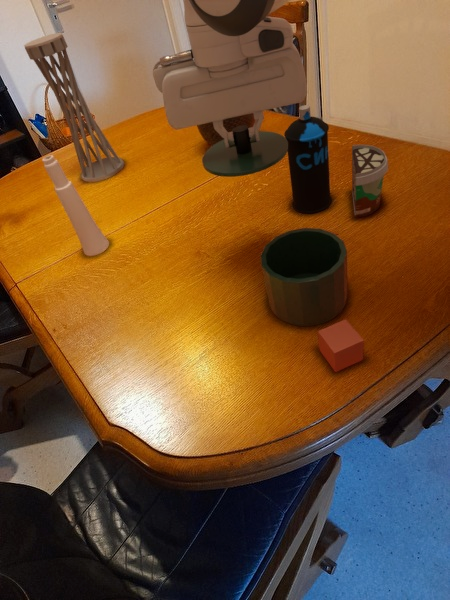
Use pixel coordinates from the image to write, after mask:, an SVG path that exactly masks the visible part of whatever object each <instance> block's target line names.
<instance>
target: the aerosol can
mask: <svg viewBox="0 0 450 600" xmlns="http://www.w3.org/2000/svg"><path fill="white" fill-rule="evenodd" d="M298 112H299V113H298V114H299V118H297V119H296V120H294V121H292V122H291V123H290V125H289V126H288V127H287V128H286V129H285V131H284V133H283V135H284V137H285V138H286V139H287V141H288V152H287V158H288V169H289V176H290V185H291V186H290V187H291V195H292V204H291V205H292V208H293V209H294V210H295V211H296V212H298V213H301V214H315V213H321V212H322V211H324V210H326V209H328V208H329V206H330V205H331V204H332V197H331V185H330V183H331V182H330V162H329V161H330V159H329V158H330V157H329V156H330V155H329V135H328V132H329V130H330V126H329V124H328V123H327V122H325V121H324V120H322V119H321V118H320V117H316V116H312V115H311V106H310V105H308V104H304V105H301V106H299V108H298Z"/></svg>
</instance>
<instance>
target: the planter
mask: <svg viewBox="0 0 450 600" xmlns="http://www.w3.org/2000/svg"><path fill="white" fill-rule="evenodd" d="M254 123H255V119H254V114H253V113H250V114H246V115H241V116H237V117H232V118H228V119H223V127H224V128H225V129H226V131H227V132H233V129H234V128H235V127H238V126H242V125H245V126H248V128H251V127H253V126H254ZM196 128H197V130H198V132H199V134H200V136H201V138H202V139H203V140H204V142H205V143H207V144H208V145H209V146H210V147H212V146H213V145H215V144H216V143H218V142H220V141H222V140H224V138H222V136H221V135H220V134H219V133H218V132H217V131H216V130H215V129H214V125H213V122H210V123H205V124H201V125H196Z"/></svg>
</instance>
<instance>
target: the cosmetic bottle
mask: <svg viewBox="0 0 450 600" xmlns="http://www.w3.org/2000/svg"><path fill="white" fill-rule="evenodd" d="M42 163H44V164H43V167H44V169H45V171H46V173H47V174H48V176H49V178H50V179H51V181H52V183H53V185H54V191H55V193H56V195H57V197H58V199H59V201H60V204H61V205H62V208H63V209H64V212H65V213H66V216H67V217H68V219H69V221H70V223H71V225H72V227H73V229H74V231H75V234H76V236H77V239H78V240H79V243H80V245H81V249H82V252H83V253H84V255H85V256H87V257H95V256H98V255H100V254H102V253H104V252H105V251H106V250H108V248H109V247H110V241H109V240H108V238H107V237H106V236H105V234H104V233H103V232H102V230H101V228H100V227H99V226H98V224H97V223H96V221H95V220H94V218H93V216H92V214H91V213H90V211H89V209H88V208H87V206H86V204H85V203H84V201H83V199H82V197H81V195H80V194H79V192H78V190H77V189H76V187H75V186H74V184H73V182H72V181H71V180H69V179H68V178H67V176H66V174H65V172H64V170H63V168H62V166H61V165H60V163H59V161H58V159H55V156H54V155H52V154H50V155H46V156H44V157H42Z"/></svg>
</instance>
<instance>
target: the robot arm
mask: <svg viewBox="0 0 450 600" xmlns="http://www.w3.org/2000/svg"><path fill="white" fill-rule="evenodd" d="M182 1H183V9H184V10H183V11H184V12H183V14H184V15H183V16H184V24H185V29H186V33H187V36H188V42H189V45H190V49H188V50H185V51H180V52H178V53H175V54H173V55H164V56H162V57H160V58H159V61H157V62H156V63H155V64H154V67H153V69H152V76H153V81H154V82H155V83H154V84H155V86H156V88H157V90H158V91H159V92H160V93H161V94H162V99H163V106H164V111H165V112H164V113H165V116H166V120H167V123H168V125H169V126H170V127H171V128H172V129H174V130H176V131H177V130H182V129H183V130H184V129H188V128H192V127H195V126H196V127H197V125H201V124H205V123H210V122H213V125H214V129H215V130H216V131H217V132H218V133H219V134H220V135H221V136H222V138H224V141H225V145H226V148H230V147H234V146H235V141H234V136H233V132H227V131H226V129H225V128H224V127H223V119H228V118H232V117H237V116H241V115H246V114H250V113H253V114H254V119H255V123H254V126H253V127H251V128H248V130H249V137H250V143H254V142H259V141H260V139H259V132H258V131H260V129H261V126H262V124H263V121H264V119H265V117H264V116H265V115H264V111H268V110H272V109H277V108H282V107H285V106H290V105H291V106H292V105H295V104H300V103H303V102H304V100H305V99H306V96H307V95H308V85H307V77H306V73H305V68H304V62H303V59H302V57H301V54H300V52H299V50H298V48H297V46H296V45H295V44H294V43H293V41H294V31H293V27H292V25H291V24H290V22H289V21H288V20H287V19H285V18H283V17H274V16H269V15H271V14H272V13H274V12H275V11H277V10H278V9H280V8H282V7H283V6H285V5H286V4H287V3H289V2H290V1H291V0H182Z"/></svg>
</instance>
